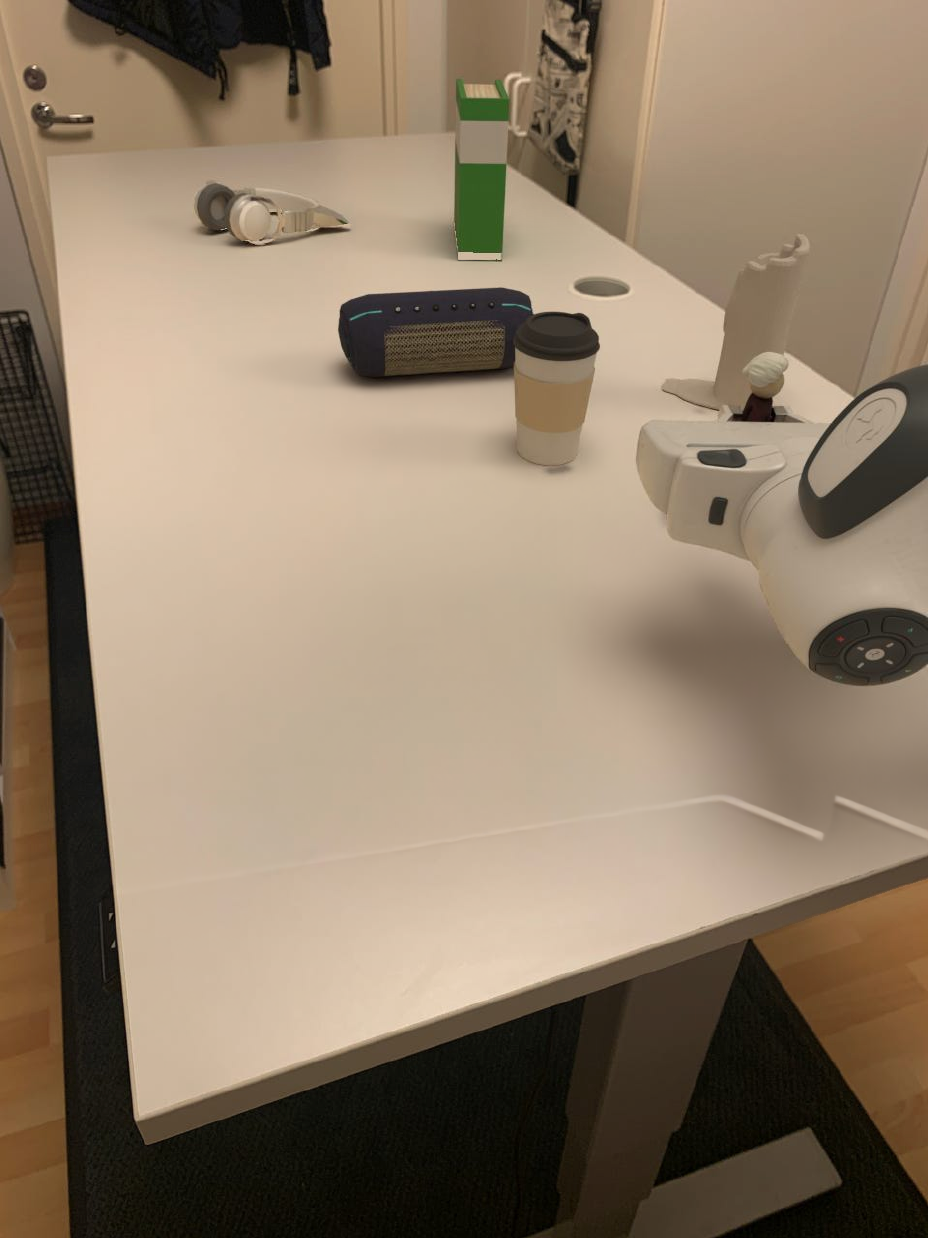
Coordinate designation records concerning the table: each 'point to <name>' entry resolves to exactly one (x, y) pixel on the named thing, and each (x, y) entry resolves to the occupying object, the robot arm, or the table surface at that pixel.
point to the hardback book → (480, 166)
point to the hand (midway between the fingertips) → (751, 413)
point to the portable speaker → (432, 330)
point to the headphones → (259, 211)
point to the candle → (751, 325)
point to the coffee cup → (553, 384)
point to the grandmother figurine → (763, 385)
